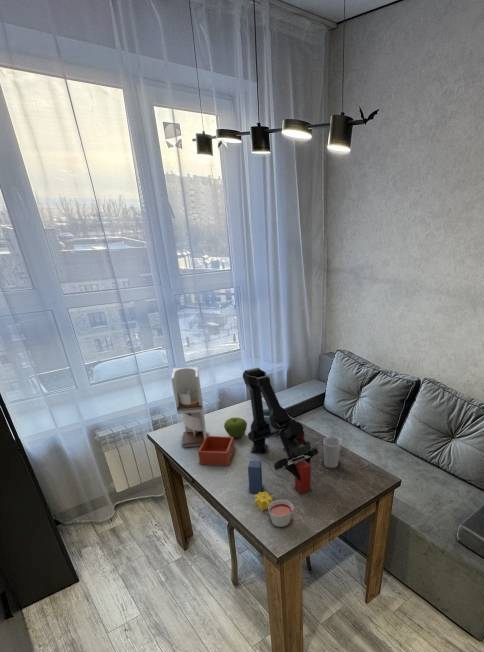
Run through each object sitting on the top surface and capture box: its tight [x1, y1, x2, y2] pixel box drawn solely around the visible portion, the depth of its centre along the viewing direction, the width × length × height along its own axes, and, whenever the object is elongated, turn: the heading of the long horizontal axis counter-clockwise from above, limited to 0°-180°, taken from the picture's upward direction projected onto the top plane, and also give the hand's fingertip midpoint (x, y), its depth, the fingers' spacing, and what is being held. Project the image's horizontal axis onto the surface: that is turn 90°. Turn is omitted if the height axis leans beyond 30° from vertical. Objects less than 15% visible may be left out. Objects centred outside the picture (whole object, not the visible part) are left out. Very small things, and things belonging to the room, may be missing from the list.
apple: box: [223, 416, 248, 439], centre depth 195 cm, size 11×10×10 cm
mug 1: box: [263, 408, 278, 434], centre depth 200 cm, size 15×11×10 cm
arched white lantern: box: [171, 366, 208, 448], centre depth 184 cm, size 11×11×35 cm
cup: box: [322, 436, 342, 469], centre depth 177 cm, size 8×8×12 cm
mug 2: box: [296, 429, 306, 445], centre depth 188 cm, size 10×8×10 cm
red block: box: [294, 460, 312, 495], centre depth 160 cm, size 4×4×12 cm
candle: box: [267, 499, 294, 528], centre depth 146 cm, size 9×9×6 cm
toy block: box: [254, 490, 275, 511], centre depth 152 cm, size 8×8×6 cm
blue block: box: [247, 460, 263, 494], centre depth 159 cm, size 4×4×12 cm
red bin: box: [197, 435, 236, 466], centre depth 180 cm, size 14×13×6 cm
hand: (304, 478), depth 159 cm, fingers closed on red block, 4 cm apart
